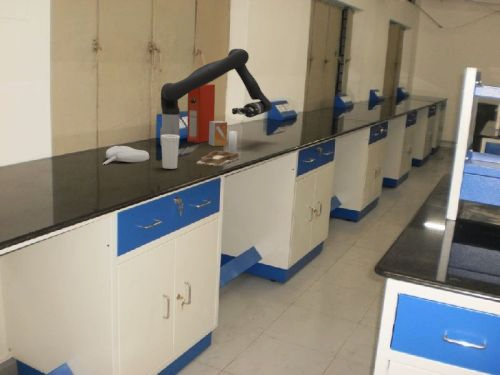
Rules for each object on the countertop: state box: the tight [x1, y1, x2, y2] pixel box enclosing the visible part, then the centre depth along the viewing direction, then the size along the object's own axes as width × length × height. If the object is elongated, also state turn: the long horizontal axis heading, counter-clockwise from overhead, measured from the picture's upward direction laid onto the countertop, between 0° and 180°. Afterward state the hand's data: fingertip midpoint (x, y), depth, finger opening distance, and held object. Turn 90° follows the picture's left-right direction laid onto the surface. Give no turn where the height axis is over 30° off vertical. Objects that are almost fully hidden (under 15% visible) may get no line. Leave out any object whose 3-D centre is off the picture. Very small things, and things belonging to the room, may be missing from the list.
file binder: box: [186, 83, 216, 144], centre depth 314 cm, size 8×17×32 cm, turn 156°
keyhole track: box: [196, 150, 239, 167], centre depth 260 cm, size 12×22×3 cm, turn 161°
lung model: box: [102, 145, 150, 166], centre depth 251 cm, size 7×17×25 cm
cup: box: [161, 134, 180, 170], centre depth 239 cm, size 8×8×14 cm
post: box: [227, 130, 238, 153], centre depth 277 cm, size 4×4×12 cm
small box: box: [208, 120, 228, 147], centre depth 304 cm, size 8×6×13 cm
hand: (241, 112), depth 283 cm, fingers open, 8 cm apart
